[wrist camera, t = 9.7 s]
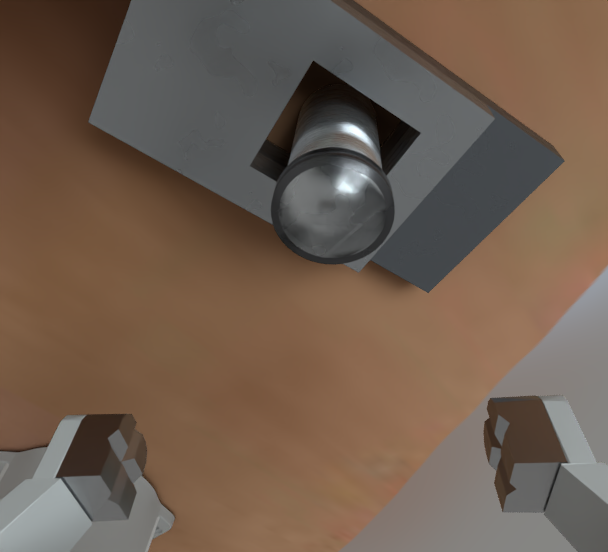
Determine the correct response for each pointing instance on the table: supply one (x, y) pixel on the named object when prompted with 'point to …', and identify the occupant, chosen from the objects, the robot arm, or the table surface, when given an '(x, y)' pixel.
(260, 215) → the square-holed grey plate
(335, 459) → the table surface
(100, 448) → the robot arm
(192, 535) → the table surface
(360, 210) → the pin
